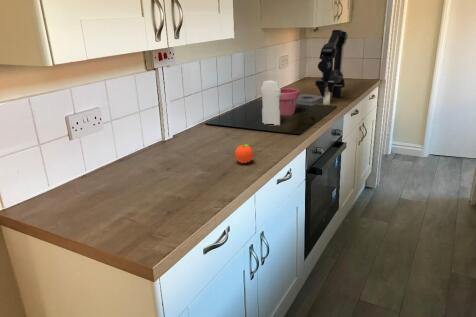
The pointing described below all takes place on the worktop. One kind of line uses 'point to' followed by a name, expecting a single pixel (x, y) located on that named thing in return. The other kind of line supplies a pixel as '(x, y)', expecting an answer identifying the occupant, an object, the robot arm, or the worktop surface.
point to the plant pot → (288, 101)
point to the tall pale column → (270, 102)
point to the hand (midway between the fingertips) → (326, 95)
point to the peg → (326, 98)
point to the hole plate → (309, 99)
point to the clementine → (244, 153)
